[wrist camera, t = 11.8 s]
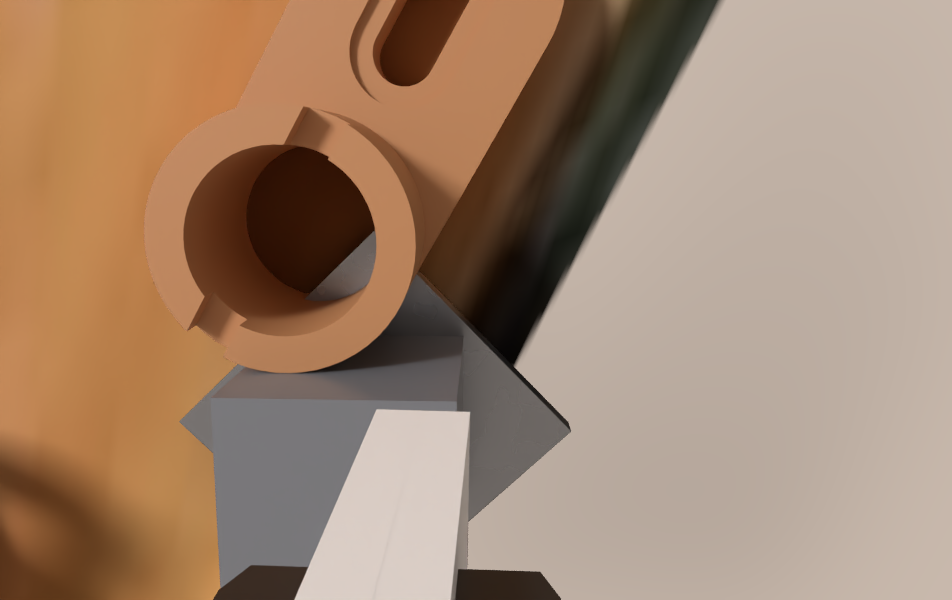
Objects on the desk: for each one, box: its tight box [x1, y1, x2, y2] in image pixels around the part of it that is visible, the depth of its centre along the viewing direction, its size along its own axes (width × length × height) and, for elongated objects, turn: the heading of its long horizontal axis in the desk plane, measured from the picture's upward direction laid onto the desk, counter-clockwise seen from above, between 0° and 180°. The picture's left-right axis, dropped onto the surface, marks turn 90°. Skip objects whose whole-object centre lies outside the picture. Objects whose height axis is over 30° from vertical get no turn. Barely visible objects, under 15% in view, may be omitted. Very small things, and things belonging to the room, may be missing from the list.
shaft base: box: [179, 231, 571, 522], centre depth 28 cm, size 11×11×6 cm
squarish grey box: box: [210, 335, 464, 588], centre depth 26 cm, size 7×7×8 cm
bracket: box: [144, 0, 564, 373], centre depth 26 cm, size 18×8×7 cm, turn 150°
